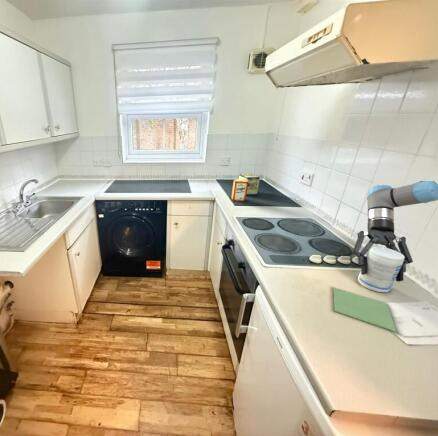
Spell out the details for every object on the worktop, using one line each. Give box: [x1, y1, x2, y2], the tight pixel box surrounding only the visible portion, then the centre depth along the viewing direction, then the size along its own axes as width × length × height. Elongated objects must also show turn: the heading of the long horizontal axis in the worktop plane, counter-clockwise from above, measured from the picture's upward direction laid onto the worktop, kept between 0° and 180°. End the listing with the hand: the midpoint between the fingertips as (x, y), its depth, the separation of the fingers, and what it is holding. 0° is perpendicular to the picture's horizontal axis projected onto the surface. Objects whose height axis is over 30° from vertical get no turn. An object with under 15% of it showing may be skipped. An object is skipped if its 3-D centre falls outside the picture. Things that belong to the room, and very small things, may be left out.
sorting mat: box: [333, 287, 397, 333], centre depth 81 cm, size 15×14×1 cm
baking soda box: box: [230, 178, 248, 202], centre depth 185 cm, size 10×6×16 cm
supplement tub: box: [357, 245, 405, 293], centre depth 89 cm, size 10×10×15 cm
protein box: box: [238, 173, 261, 197], centre depth 202 cm, size 10×16×16 cm
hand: (381, 277), depth 87 cm, fingers closed on supplement tub, 9 cm apart
